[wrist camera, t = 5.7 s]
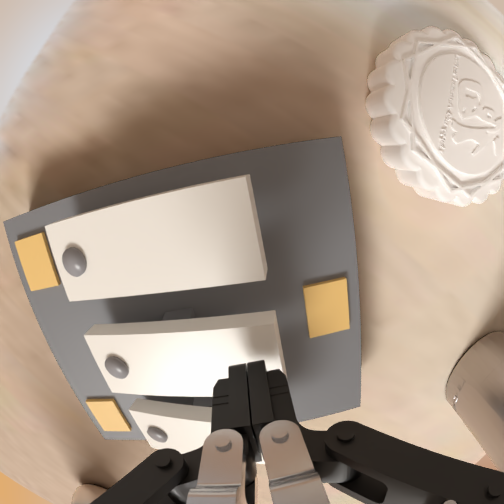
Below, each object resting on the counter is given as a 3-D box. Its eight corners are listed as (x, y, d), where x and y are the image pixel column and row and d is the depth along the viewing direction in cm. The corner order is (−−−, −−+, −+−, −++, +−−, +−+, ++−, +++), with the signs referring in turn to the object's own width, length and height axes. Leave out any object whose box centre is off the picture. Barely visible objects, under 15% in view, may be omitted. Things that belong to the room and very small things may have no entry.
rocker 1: (249, 173, 12) (244, 177, 11) (267, 268, 13) (265, 282, 12) (59, 220, 14) (42, 227, 12) (81, 291, 15) (67, 303, 14)
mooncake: (472, 221, 20) (502, 232, 16) (342, 164, 18) (365, 166, 15) (499, 87, 17) (528, 84, 13) (380, 10, 15) (404, -10, 12)
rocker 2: (292, 410, 15) (288, 429, 14) (299, 450, 16) (296, 467, 15) (137, 397, 18) (126, 411, 17) (158, 436, 19) (150, 449, 18)
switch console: (324, 139, 17) (351, 134, 13) (348, 381, 23) (366, 420, 18) (28, 212, 17) (-12, 227, 13) (114, 415, 23) (100, 452, 18)
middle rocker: (275, 310, 14) (273, 326, 13) (287, 376, 15) (286, 395, 14) (94, 324, 16) (81, 337, 14) (120, 380, 17) (110, 394, 15)
